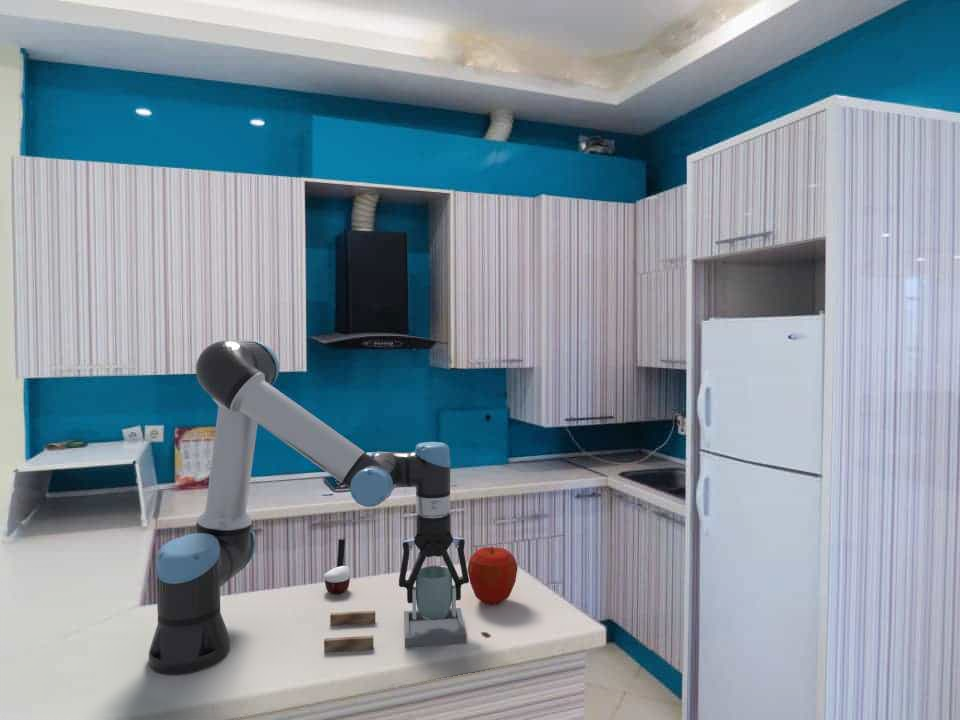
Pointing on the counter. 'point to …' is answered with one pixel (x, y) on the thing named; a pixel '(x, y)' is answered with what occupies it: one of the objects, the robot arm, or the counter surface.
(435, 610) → the cup
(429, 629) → the dock cradle
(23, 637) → the counter surface
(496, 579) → the apple
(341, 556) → the cocoa
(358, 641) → the dock rails
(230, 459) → the robot arm
